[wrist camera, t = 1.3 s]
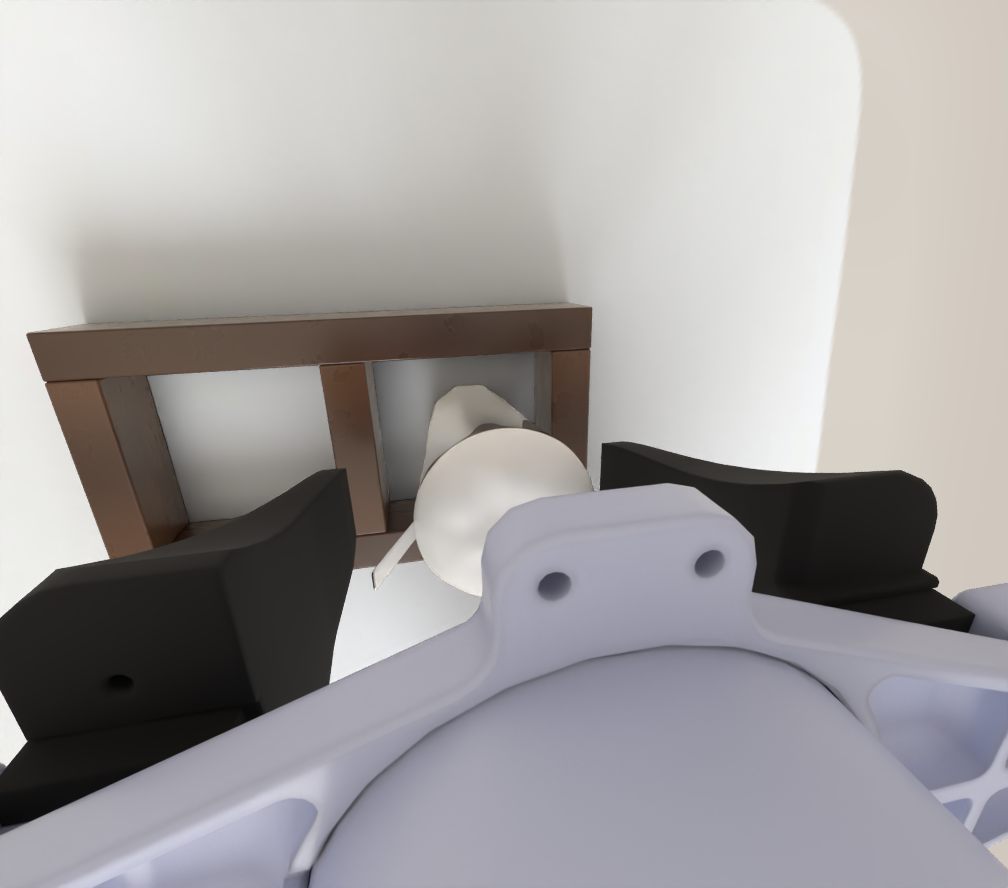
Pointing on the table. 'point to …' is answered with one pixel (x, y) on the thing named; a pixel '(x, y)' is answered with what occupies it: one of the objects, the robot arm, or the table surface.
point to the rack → (276, 344)
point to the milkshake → (478, 482)
